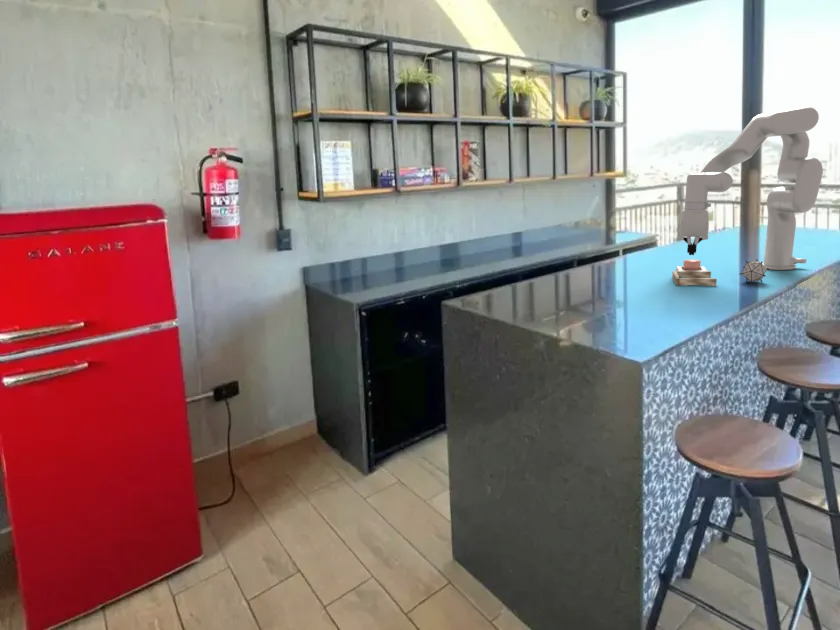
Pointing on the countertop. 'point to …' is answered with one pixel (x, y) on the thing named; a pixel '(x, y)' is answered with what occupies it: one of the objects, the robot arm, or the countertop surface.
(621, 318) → the countertop surface
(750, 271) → the game die
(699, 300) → the countertop surface
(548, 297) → the countertop surface
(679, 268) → the collar
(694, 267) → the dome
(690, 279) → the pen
